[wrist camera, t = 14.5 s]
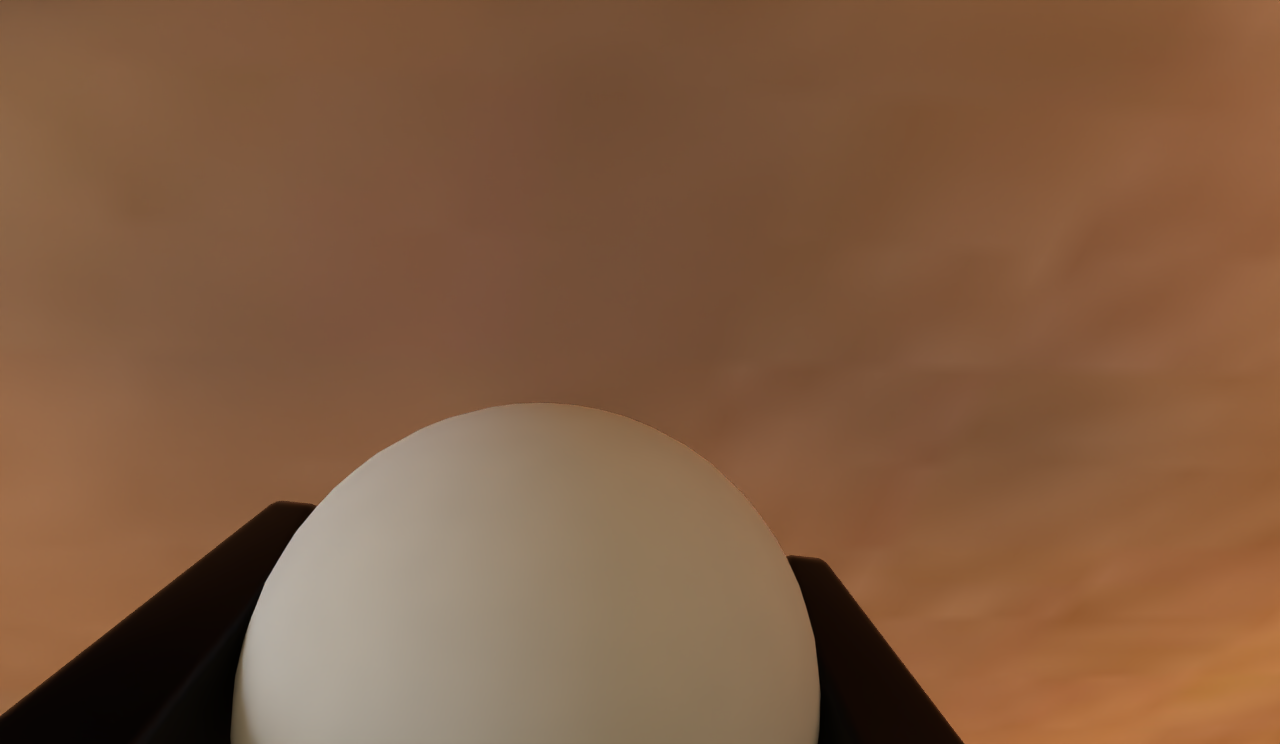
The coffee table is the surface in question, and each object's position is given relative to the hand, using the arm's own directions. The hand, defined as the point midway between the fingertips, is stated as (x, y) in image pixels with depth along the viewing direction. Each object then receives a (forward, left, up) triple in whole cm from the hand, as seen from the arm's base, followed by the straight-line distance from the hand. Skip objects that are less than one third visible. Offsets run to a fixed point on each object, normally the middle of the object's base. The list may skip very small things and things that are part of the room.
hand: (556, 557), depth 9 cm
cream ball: (0, 0, +1) cm, 1 cm away
